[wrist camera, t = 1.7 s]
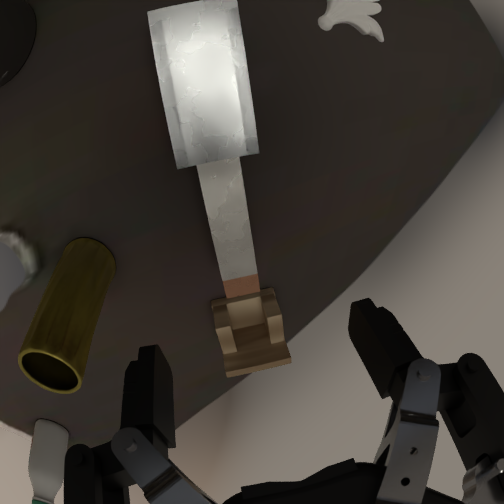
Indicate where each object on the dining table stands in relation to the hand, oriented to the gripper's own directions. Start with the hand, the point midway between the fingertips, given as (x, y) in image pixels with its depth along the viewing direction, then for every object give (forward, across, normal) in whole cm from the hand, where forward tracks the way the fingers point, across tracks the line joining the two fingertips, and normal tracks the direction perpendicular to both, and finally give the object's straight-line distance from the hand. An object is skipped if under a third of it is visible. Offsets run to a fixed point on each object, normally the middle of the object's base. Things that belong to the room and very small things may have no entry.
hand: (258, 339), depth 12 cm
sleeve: (+18, 0, -9) cm, 20 cm away
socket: (+18, 0, +16) cm, 24 cm away
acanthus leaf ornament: (+19, -14, -16) cm, 29 cm away
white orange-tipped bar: (+17, 0, -3) cm, 17 cm away
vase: (+18, +15, +5) cm, 24 cm away
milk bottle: (+18, +44, +40) cm, 63 cm away
